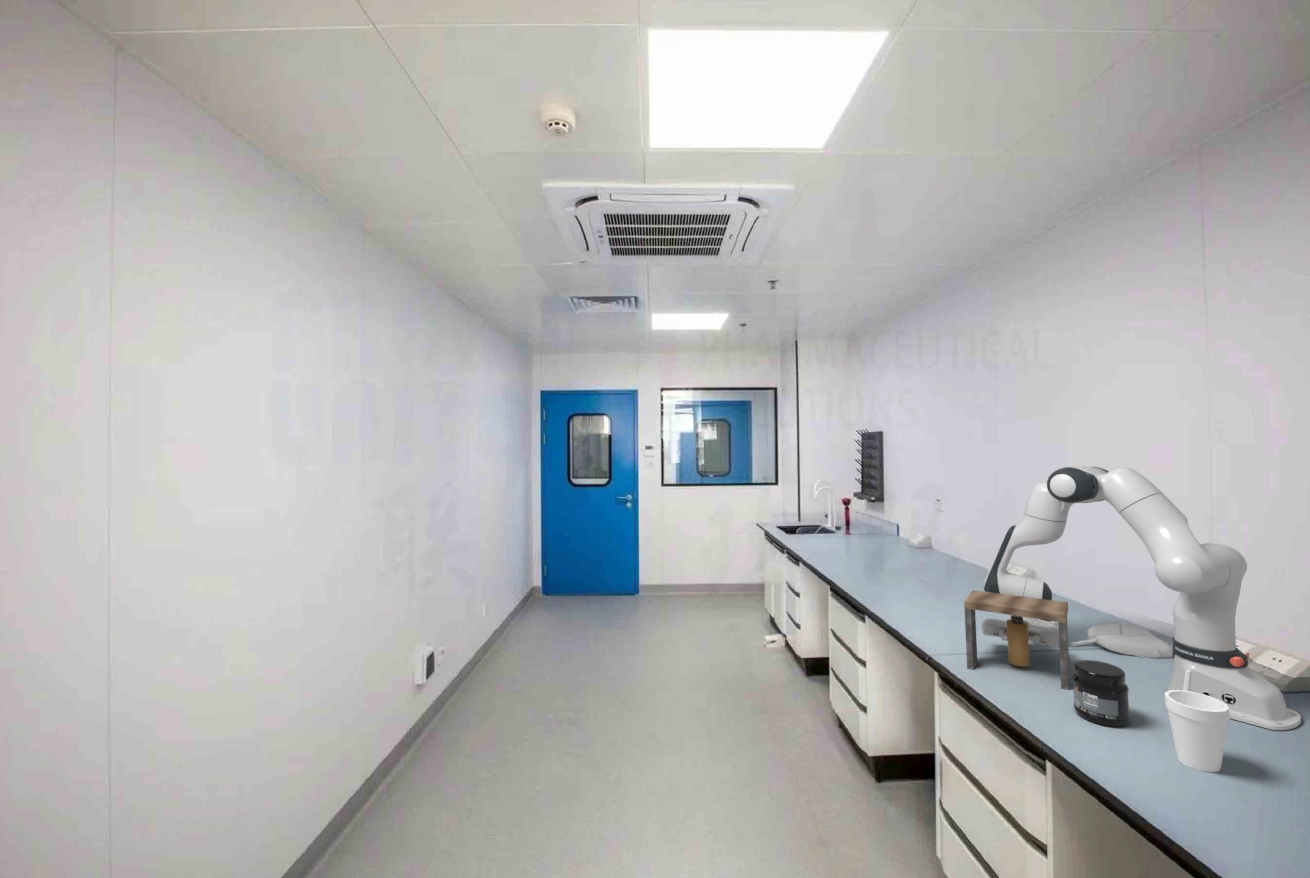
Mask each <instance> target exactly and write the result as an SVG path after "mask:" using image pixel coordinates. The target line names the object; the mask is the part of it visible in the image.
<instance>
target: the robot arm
mask: <svg viewBox="0 0 1310 878" xmlns="http://www.w3.org/2000/svg"><path fill="white" fill-rule="evenodd" d="M1102 501H1106V502H1107V503H1108V504H1109V505H1111V506H1112V507H1113V508H1114V510H1115V511H1116V512H1117V513H1118V514H1119V515H1120V516H1121V518H1122V519H1123V520H1124V521H1125V522H1126V523H1127V524H1128V525H1129V527H1130V528H1131V529H1132V530H1133V531H1134V532H1135V533H1136V534H1137V536H1138V537H1139V539H1141V542H1143V544H1144V546H1145V547H1146V550H1147V551H1148V553H1149V554H1150V556H1151V559H1152V561H1153V562H1154V574H1155V576H1156V577H1157V580H1158V581H1159V582H1160V583H1161V584H1162V585H1163V586H1165V587H1166V588H1168V590H1169V589H1170V590H1172V591H1175V592H1177V593H1179V594H1178V597H1177V600H1176V602H1175V604H1174V606H1173V608H1172V612H1173V613H1172V614H1173V615H1172V616H1173V618H1172V619H1173V637H1172V638H1171V639H1172V640H1171V647H1172V653H1173V657H1172V658H1173V669H1172V675H1171V679H1170V682H1169V685H1168V688H1167V691H1169V690H1183V691H1191V692H1196V693H1200V694H1204V695H1207V696H1210V697H1213V698H1216V699H1218V700H1220V701H1222V702H1223V703H1225V704H1227V706H1228V708H1229V716H1230V720H1234V721H1235V720H1236V721H1238V722H1242V723H1246V724H1249V725H1252V726H1257V727H1261V728H1265V729H1268V730H1272V731H1287V730H1292V729H1295V728H1297V727H1298V726H1299V725H1301V723H1302V717H1301V715H1300V713H1299V712H1297V711H1296V710H1294V709H1290V708H1288V707H1287V704H1286V700H1285V697H1284V695H1283V692H1282V691H1281V690H1280V688H1279V687H1277V685H1275V684H1273V683H1272V682H1270V681H1269V680H1268V679H1266V678H1265V677H1263V676H1262V675H1261V674H1259V673H1258V672H1256V671H1255V670H1254V669H1252V668H1251V667H1250V666H1249V660H1248V659H1250V652H1246V653H1244V652H1243V651H1241V650H1240V649H1239V648H1238V647H1237V645H1236V644H1237V641H1236V640H1237V639H1236V638H1237V636H1236V612H1237V608H1238V603H1239V599H1240V593H1241V589H1242V583H1243V582H1242V581H1243V578H1244V576H1245V574H1246V572H1247V569H1248V564H1247V561H1246V558H1245V557H1244V555H1242V554H1241V552H1239V551H1238V550H1237V549H1234V548H1233V547H1231V546H1227V545H1223V544H1219V543H1212V542H1211V543H1209V542H1208V543H1200V542H1199V541H1198V540H1197V538H1196V536H1194V533H1193V531H1192V530H1191V528H1190V526H1189V521H1188V517H1187V516H1186V515H1185V514H1184V513H1183V512H1182V511H1181V510H1180V509H1179V508H1178V506H1176V505H1175V504H1174V503H1173V502H1172V501H1171V500H1170V499H1169V498H1168V497H1167V496H1166V495H1165V493H1163V492H1162V491H1161V490H1160V489H1159V488H1158V487H1157V486H1156V485H1155V484H1153V482H1151V481H1150V480H1149V479H1148V478H1146V477H1145V476H1144V475H1143V474H1141V473H1140V472H1138V471H1137V470H1135V469H1134V468H1131V467H1117V468H1115V469H1112V470H1108V469H1105V468H1103V467H1098V466H1085V465H1084V466H1083V465H1076V466H1071V467H1070V466H1067V467H1061V468H1058V469H1057V470H1055V471H1053V472H1052V473H1051V474H1050V475H1049V476H1048V478H1047V481H1042V482H1038V483H1036V484H1035V485H1033V486H1032V489H1031V491H1030V492H1029V495H1028V498H1027V501H1026V505H1025V508H1024V514H1023V516H1022V518H1021V520H1020V521H1019V522H1018V523H1017V524H1015V525H1012V526H1010V527H1009V528H1008V530H1007V532H1006V533H1005V535H1004V537H1003V540H1002V543H1001V544H1000V547H999V550H998V552H997V554H996V556H995V559H994V561H993V564H992V566H991V569H990V570H989V572H988V573H987V575H986V576H985V578H984V581H983V590H984V592H991V593H999V594H1007V595H1015V596H1023V597H1030V598H1038V599H1046V600H1053V591H1052V589H1051V587H1049V585H1048V584H1047V583H1046V582H1045V581H1042V580H1040V579H1035V578H1031V577H1027V576H1023V575H1019V574H1014V573H1011V572H1010V571H1008V570H1007V568H1008V567H1009V564H1010V561H1011V559H1012V557H1013V555H1014V552H1015V551H1016V550H1017V549H1019V548H1022V547H1028V546H1040V545H1048V544H1050V543H1054V542H1055V541H1058V540H1060V539H1061V537H1063V534H1064V532H1065V529H1066V525H1067V521H1068V515H1069V512H1070V508H1071V507H1072V506H1073V504H1090V503H1097V502H1102ZM1011 616H1012V615H1008V616H1007V618H1006V619H1000V618H994V617H992V618H991V617H990V618H989V617H988V618H986V619H984V620H983V621H981V633H982V634H984V635H986V636H991V637H998V638H1001V640H1002V641H1007V642H1008V638H1007V637H1008V636H1007V620H1010V619H1011ZM1023 621H1025V622H1027V623H1028V644H1029V646H1035V645H1037V644H1039V645H1044V646H1049V647H1055V648H1059V626H1058V624H1057V622H1055V621H1048V620H1041V619H1035V618H1028V617H1023Z"/></svg>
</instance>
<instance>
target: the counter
mask: <svg viewBox="0 0 1310 878" xmlns="http://www.w3.org/2000/svg"><path fill="white" fill-rule="evenodd" d="M963 603H964V627H965V647H966V649H965V650H966V651H965V652H966V669H968V668H969V670H975V667H976V666H977V663H978V645H977V642H978V641H977V624H976V623H977V622H976V621H977V620H976V619H977V617H976V611H981V612H988V613H995V614H996V613H997V614H1001V615H1002V614H1003V615H1008V616H1009V615H1014V616H1021V617H1028V618H1035V619H1041V620H1048V621H1055V622H1056V623H1058V624H1057V626H1058V628H1059V647H1058V648H1059V666H1060V668H1059V669H1060V688H1061V689H1063V690H1067V691H1069V690H1070V681H1071V678H1070V658H1069V657H1070V656H1069V655H1070V654H1069V635H1068V634H1069V631H1068V630H1069V629H1068V612H1069V611H1068V610H1069V603H1068V601H1061V600H1054V599H1052V600H1046V599H1038V598H1030V597H1023V596H1015V595H1007V594H999V593H991V592H985V591H982V590H975V589H973V590H972V591H971V592H970V593H969V594H968V596H967V597H966V598H965V600H963Z"/></svg>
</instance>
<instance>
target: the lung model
mask: <svg viewBox="0 0 1310 878" xmlns="http://www.w3.org/2000/svg"><path fill="white" fill-rule="evenodd" d="M1086 630H1087V631H1086V636H1087V639H1082V640H1076V641H1073V642H1070V646H1073V647H1074V646H1075V647H1079V646H1080V647H1081V646H1084V645H1092V644H1097V645H1099V646H1100V647H1103V648H1105V649H1106V650H1109V651H1111V652H1115V653H1118V654H1123V655H1128V656H1130V655H1134V656H1133V657H1135V656H1144V657H1143V658H1145V657H1153V658H1152V659H1170V657H1171V658H1173V653H1172V645H1169V643H1168V642H1166V641H1165V640H1163V639H1160V638H1158V637H1156V636H1155V635H1153V633H1152V632H1150V631H1149V630H1148V629H1146V628H1144V627H1143V626H1139V625H1136V624H1131V623H1122V622H1116V621H1115V622H1104V623H1099V624H1095V625H1092V626H1090V627H1088V628H1087V629H1086Z"/></svg>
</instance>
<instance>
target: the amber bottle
mask: <svg viewBox="0 0 1310 878" xmlns="http://www.w3.org/2000/svg"><path fill="white" fill-rule="evenodd" d="M1006 620H1007V619H1006ZM1007 636H1008V637H1007V638H1008V641H1007V656H1008V657H1007V658H1008V662H1009V663H1010V664H1011V665H1014V666H1017V667H1029V666H1031V665H1030V661H1031V660H1030V645H1029V644H1028V623H1027V622H1025V621H1023V617H1021V616H1014V615H1012V616H1011V619H1010V620H1007Z"/></svg>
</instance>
